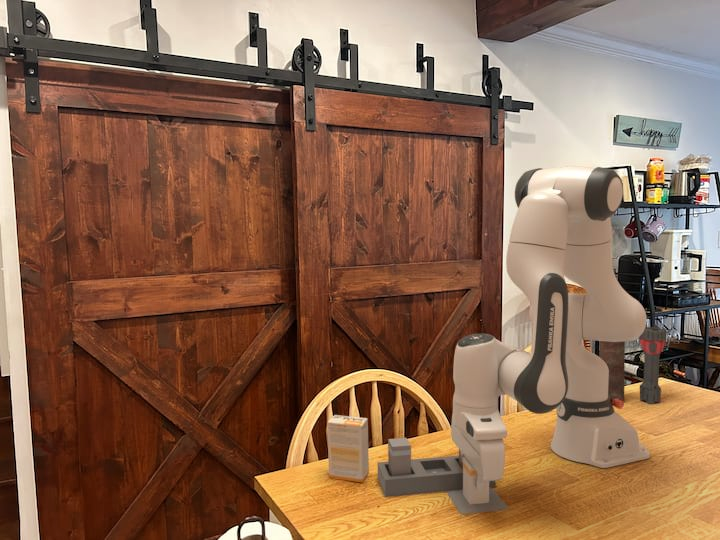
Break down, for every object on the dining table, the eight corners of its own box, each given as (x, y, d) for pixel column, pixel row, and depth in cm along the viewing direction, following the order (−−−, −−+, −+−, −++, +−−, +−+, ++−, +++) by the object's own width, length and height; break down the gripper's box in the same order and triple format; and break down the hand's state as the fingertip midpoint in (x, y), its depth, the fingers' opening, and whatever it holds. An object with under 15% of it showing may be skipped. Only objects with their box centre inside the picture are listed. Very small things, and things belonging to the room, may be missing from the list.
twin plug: (406, 472, 115) (406, 437, 114) (411, 482, 111) (411, 445, 110) (388, 474, 115) (387, 439, 114) (392, 483, 111) (392, 447, 110)
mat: (489, 485, 113) (489, 484, 113) (509, 511, 103) (509, 509, 103) (444, 490, 112) (444, 488, 112) (460, 516, 102) (460, 514, 102)
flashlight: (648, 394, 171) (651, 324, 168) (669, 401, 163) (672, 329, 161) (629, 396, 168) (632, 326, 166) (650, 404, 161) (653, 331, 159)
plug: (481, 492, 110) (481, 455, 109) (489, 502, 106) (489, 464, 105) (462, 494, 109) (462, 457, 108) (469, 504, 105) (470, 466, 104)
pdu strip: (480, 470, 120) (481, 453, 120) (495, 487, 112) (495, 469, 112) (377, 479, 116) (377, 462, 116) (385, 498, 109) (385, 479, 108)
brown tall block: (601, 403, 163) (603, 339, 161) (594, 395, 170) (596, 334, 168) (627, 404, 162) (629, 340, 160) (619, 396, 169) (622, 335, 167)
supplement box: (369, 473, 119) (369, 417, 118) (362, 483, 115) (362, 425, 114) (335, 468, 122) (334, 413, 121) (327, 478, 117) (326, 421, 116)
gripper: (444, 398, 116) (443, 459, 117) (478, 435, 96) (477, 508, 97) (471, 397, 117) (471, 457, 118) (511, 433, 97) (510, 505, 98)
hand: (474, 480), depth 107 cm, fingers open, 6 cm apart
